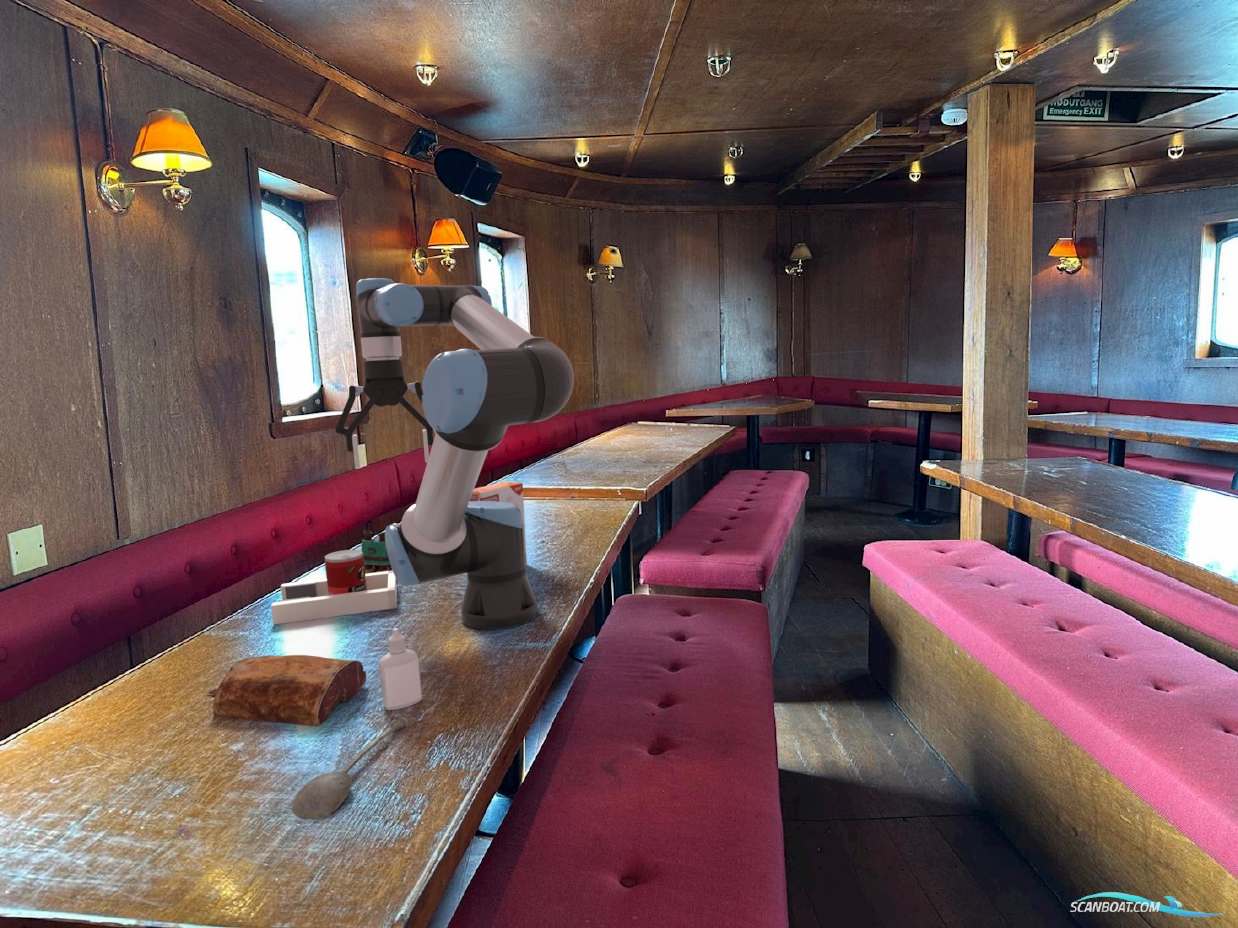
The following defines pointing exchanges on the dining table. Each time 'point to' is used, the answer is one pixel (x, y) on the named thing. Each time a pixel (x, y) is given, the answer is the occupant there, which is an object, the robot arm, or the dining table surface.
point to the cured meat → (287, 688)
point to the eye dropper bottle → (400, 674)
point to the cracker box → (502, 496)
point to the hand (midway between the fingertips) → (392, 464)
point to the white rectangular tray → (333, 599)
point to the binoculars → (375, 553)
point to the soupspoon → (332, 785)
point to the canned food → (345, 572)
